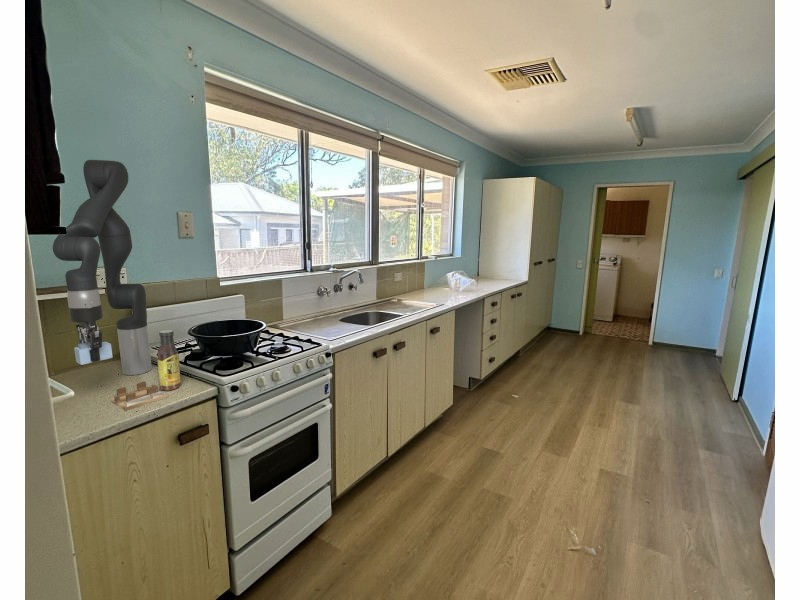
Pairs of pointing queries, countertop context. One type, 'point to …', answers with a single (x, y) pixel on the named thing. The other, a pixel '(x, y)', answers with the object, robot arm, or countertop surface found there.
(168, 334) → the sauce bottle
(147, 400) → the jig
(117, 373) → the countertop surface
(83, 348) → the light blue block
